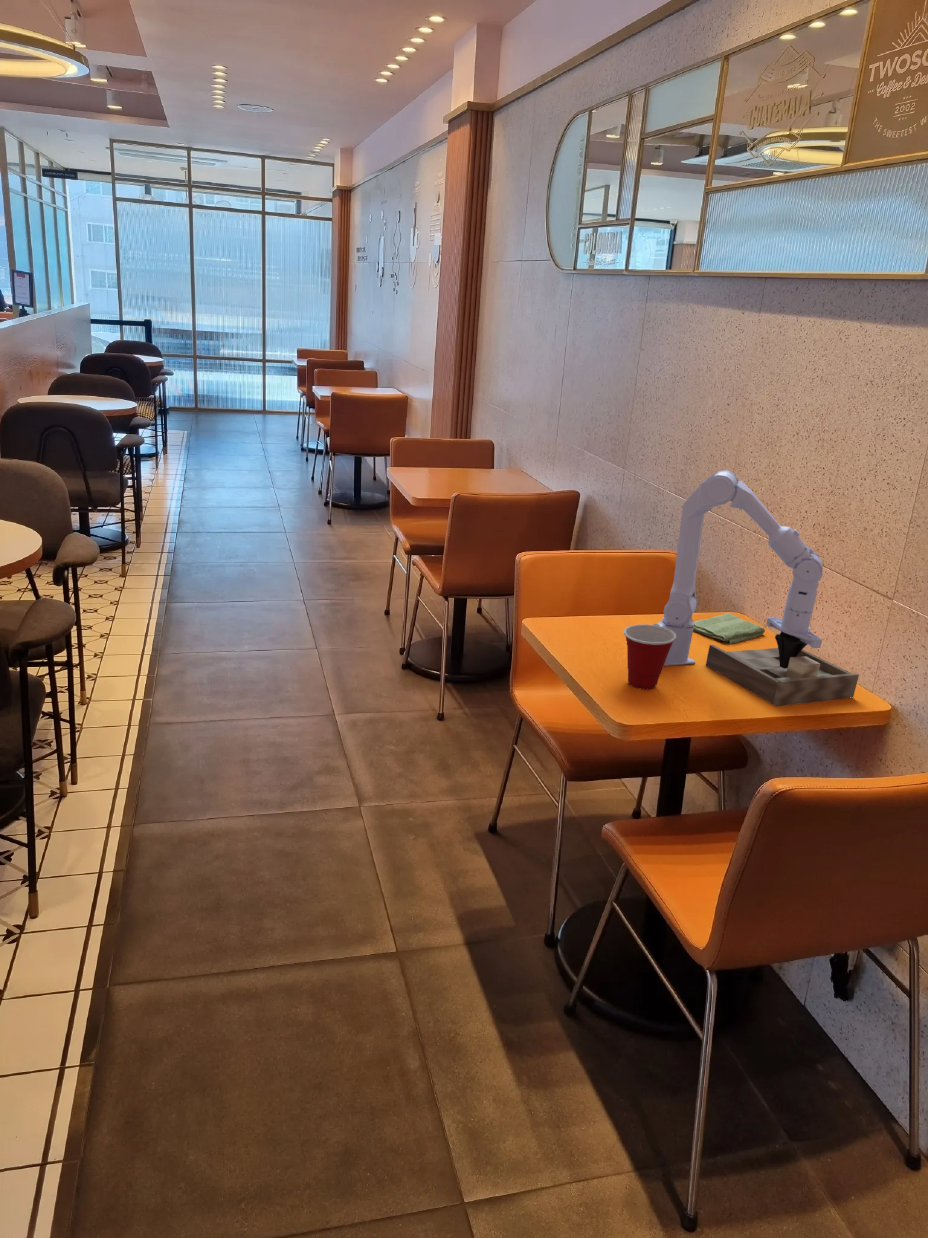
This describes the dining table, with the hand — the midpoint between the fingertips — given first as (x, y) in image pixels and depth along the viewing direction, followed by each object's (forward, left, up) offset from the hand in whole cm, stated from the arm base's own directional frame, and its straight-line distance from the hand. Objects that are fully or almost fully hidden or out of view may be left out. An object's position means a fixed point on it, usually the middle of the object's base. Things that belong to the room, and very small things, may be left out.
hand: (785, 667), depth 199 cm
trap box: (0, +2, -4) cm, 4 cm away
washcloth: (+11, +32, -5) cm, 34 cm away
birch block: (0, -5, -1) cm, 5 cm away
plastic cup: (-34, +6, -4) cm, 35 cm away
